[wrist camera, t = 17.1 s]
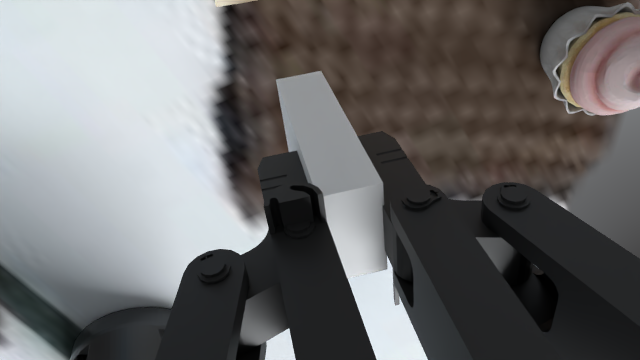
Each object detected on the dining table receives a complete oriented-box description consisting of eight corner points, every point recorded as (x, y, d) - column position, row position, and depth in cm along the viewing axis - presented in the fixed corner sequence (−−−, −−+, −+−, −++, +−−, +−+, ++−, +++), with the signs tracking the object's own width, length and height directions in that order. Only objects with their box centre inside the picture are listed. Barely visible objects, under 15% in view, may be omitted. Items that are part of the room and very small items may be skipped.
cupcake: (612, -40, 40) (715, -4, 32) (632, 51, 45) (725, 101, 37) (506, 30, 41) (579, 80, 33) (538, 109, 47) (607, 169, 39)
